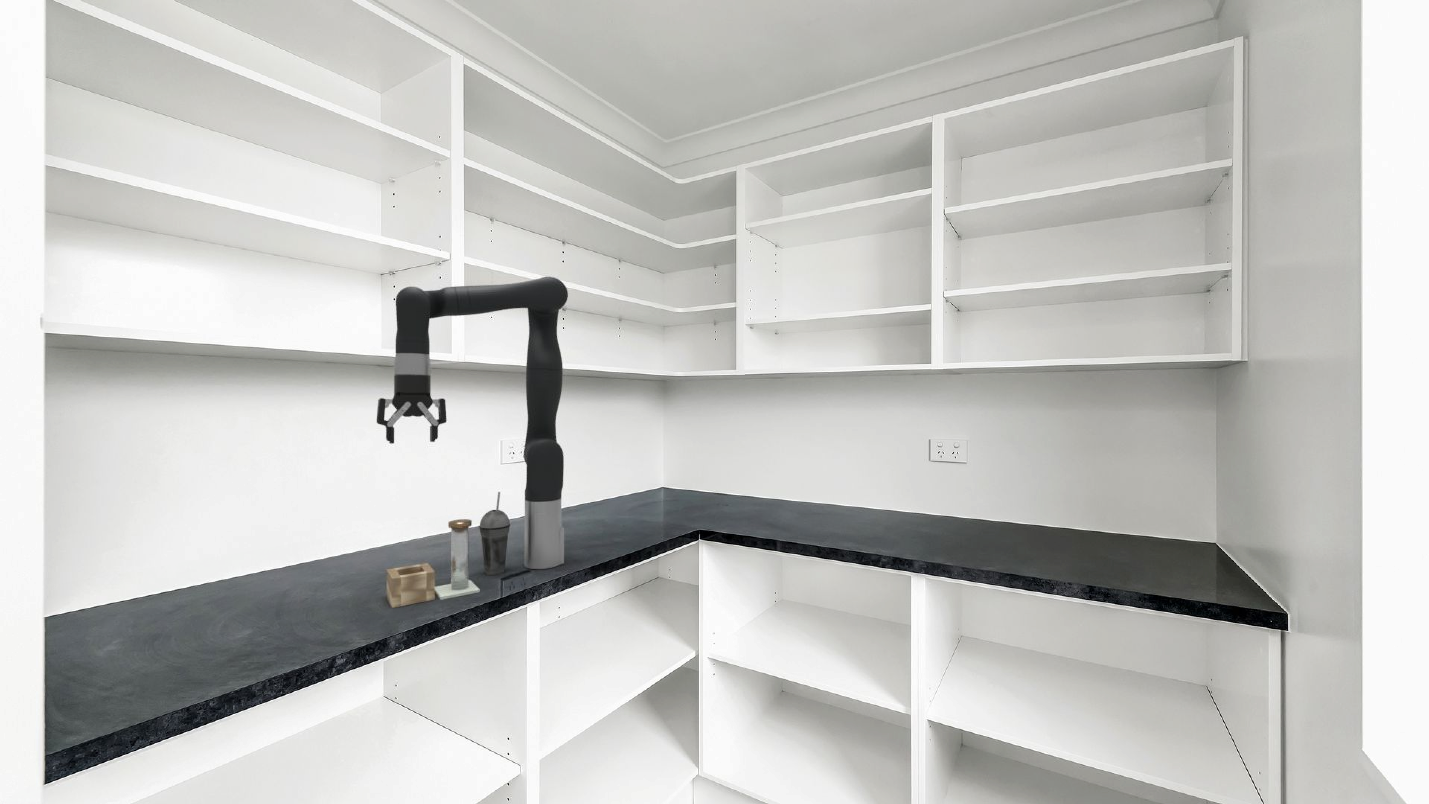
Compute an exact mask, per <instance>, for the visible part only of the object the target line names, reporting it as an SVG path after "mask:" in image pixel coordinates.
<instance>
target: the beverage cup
mask: <svg viewBox="0 0 1429 804" xmlns="http://www.w3.org/2000/svg"><path fill="white" fill-rule="evenodd" d="M500 497H501V491H498V492H497V500H496V509H491V510H488V511H486V513H485V514H483V516H482V518H481V519H480V522H479V527H478V529H479V532H480V536H481V543H482V544H481V545H482V546H481V547H482V558H483V567H484V573H485V575H488V576H493V575H494V576H495V575H496V576H497V575H500V574H503V573H504V572H505V567H506V560H507V552H508V551H507V549H508V537H509V534H510V533H509V532H510V526H511V523H510V519H509V517H508V515H507V514H506V513H505V512H504V511H503V510H501V509H499V507H500Z"/></svg>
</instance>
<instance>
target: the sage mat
mask: <svg viewBox="0 0 1429 804" xmlns="http://www.w3.org/2000/svg"><path fill="white" fill-rule="evenodd" d="M480 591H481V589H480V588H479V587H478V586H477V585H476V584H475V583H474V582H473V581H472V580H470V579H469V587H468V588H466V589H463V590H452V589H451V583H449V584H443V585H437V586H436V585H435V595H437V597H438V599H439V600H441V601H442V600H448V599H451V598H457V597H462V596H466V595H467V596H468V595H472V594H477V593H480Z"/></svg>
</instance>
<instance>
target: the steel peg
mask: <svg viewBox="0 0 1429 804" xmlns="http://www.w3.org/2000/svg"><path fill="white" fill-rule="evenodd" d="M472 522H473V520H472V519H468V518H467V519H466V518H461V519H454V520H450V521H448V523H447V524H448V525H447V526H448V528H449V529H451V530H450V532H451V534H450V536H451V537H450V538H451V539H450V542H451V543H450V551H451V553H450V556H451V558H450V559H451V560H450V561H451V563H450V566H451V568H450V584H451V589H452V590H463V589H466V588H468V587H469V580H470V578H469V577H470V575H469V573H470V571H469V570H470V569H469V565H470V564H469V562H470V557H469V556H470V555H469V552H470V547H469V546H470V545H469V543H470V542H469V541H470V537H469V535H470V532H469V531H470V527H471V526H472V524H473V523H472Z"/></svg>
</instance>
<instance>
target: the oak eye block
mask: <svg viewBox="0 0 1429 804" xmlns="http://www.w3.org/2000/svg"><path fill="white" fill-rule="evenodd" d="M435 576H436V571H435V570H434V569H433V568H432V567H431V565H430V564H429V563H428V562H426V563H425V562H424V563H420V564H413V565H407V566H401V567H395V568H389V569H388V568H387V569H386V599H387V601H388V603H389V605H390V607H391V608H393V609H394V608H399V607H404V606H408V605H414V604H419V603H423V602H424V603H425V602H429V601H435V599H436V596H435V595H436V593H435V587H436V583H435V581H436V577H435Z"/></svg>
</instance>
